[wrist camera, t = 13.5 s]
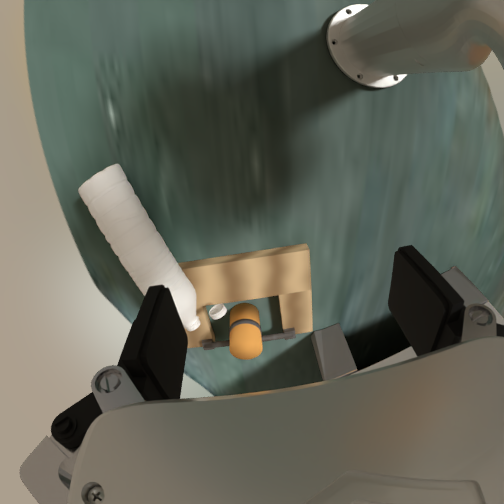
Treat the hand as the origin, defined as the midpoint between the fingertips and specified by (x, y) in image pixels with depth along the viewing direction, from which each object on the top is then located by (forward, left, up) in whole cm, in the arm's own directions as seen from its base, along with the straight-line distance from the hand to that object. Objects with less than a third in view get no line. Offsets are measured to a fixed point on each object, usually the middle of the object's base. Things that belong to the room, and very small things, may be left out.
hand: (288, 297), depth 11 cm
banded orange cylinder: (+5, +25, -28) cm, 38 cm away
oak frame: (+5, +21, -28) cm, 36 cm away
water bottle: (+19, -3, -25) cm, 32 cm away
